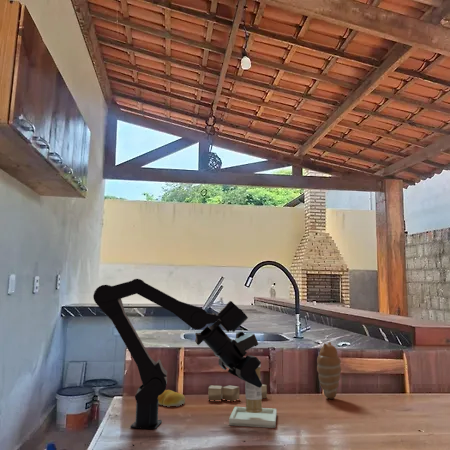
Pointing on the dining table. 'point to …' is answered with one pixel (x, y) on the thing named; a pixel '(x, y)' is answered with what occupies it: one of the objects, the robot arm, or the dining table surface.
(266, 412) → the tray
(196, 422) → the dining table surface
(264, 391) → the oak cube
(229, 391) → the oak cube
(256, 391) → the sprinkles bottle
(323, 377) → the croissant
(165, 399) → the bread roll
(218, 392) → the oak cube
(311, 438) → the dining table surface
